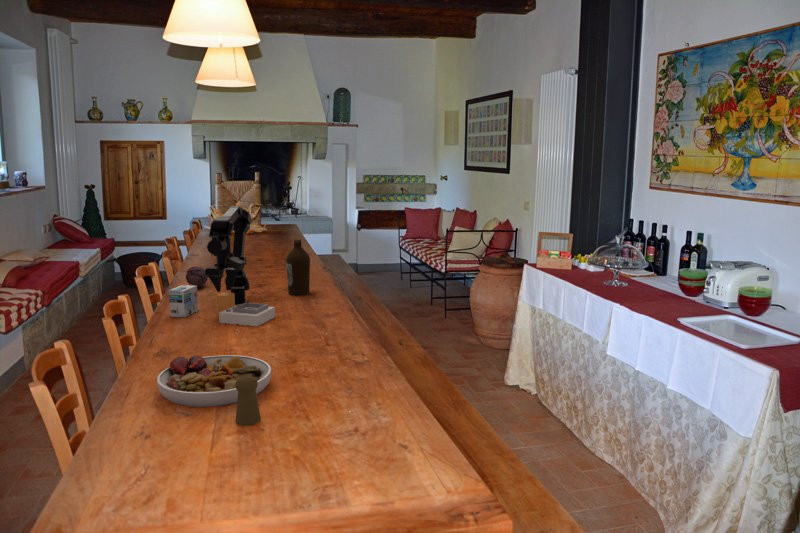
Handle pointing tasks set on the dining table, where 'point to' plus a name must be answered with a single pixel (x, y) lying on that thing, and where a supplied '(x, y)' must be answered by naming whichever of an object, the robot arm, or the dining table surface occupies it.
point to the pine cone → (196, 276)
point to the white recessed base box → (247, 314)
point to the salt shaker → (247, 401)
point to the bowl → (210, 379)
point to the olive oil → (298, 270)
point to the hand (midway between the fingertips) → (225, 289)
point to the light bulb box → (183, 301)
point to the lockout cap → (225, 301)
